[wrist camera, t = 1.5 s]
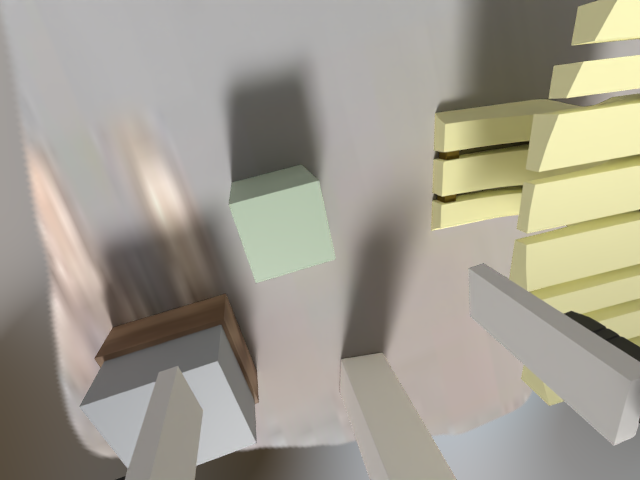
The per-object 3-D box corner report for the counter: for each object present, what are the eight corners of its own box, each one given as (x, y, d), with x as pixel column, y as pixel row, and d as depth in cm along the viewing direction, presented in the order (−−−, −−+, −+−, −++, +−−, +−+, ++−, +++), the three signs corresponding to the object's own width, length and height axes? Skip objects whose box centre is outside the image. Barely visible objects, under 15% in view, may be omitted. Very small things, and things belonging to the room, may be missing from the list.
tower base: (114, 325, 34) (94, 358, 29) (225, 291, 35) (223, 318, 31) (160, 401, 39) (149, 440, 34) (256, 369, 40) (258, 402, 36)
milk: (340, 358, 42) (428, 579, 22) (383, 351, 43) (502, 554, 23) (339, 392, 44) (417, 621, 24) (379, 385, 46) (486, 597, 26)
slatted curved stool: (534, 265, 44) (704, 356, 28) (429, 290, 41) (549, 406, 25) (582, 3, 32) (930, -106, 16) (438, 14, 29) (679, -102, 13)
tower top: (104, 361, 29) (79, 406, 25) (221, 324, 31) (217, 361, 26) (154, 436, 34) (141, 485, 30) (254, 400, 35) (256, 443, 31)
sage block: (231, 182, 31) (228, 204, 23) (301, 164, 32) (318, 180, 24) (252, 246, 34) (255, 283, 26) (316, 227, 34) (335, 259, 27)
